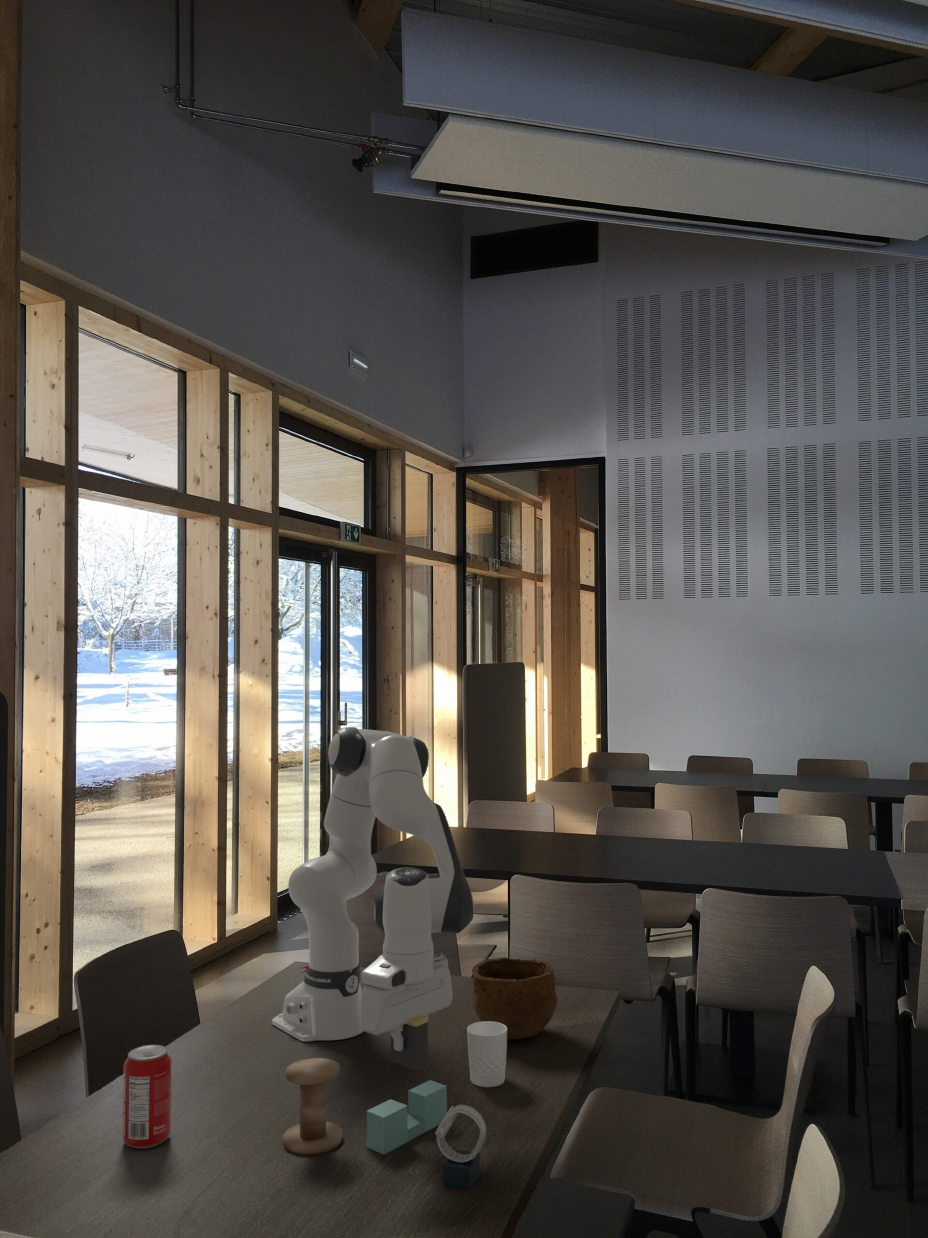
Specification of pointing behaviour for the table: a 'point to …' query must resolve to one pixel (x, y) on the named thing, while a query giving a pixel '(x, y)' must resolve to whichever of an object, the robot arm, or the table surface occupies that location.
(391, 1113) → the notch board
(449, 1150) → the watch
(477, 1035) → the white cup
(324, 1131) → the bobbin
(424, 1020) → the yellow and black block
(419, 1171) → the table surface
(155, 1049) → the soda can
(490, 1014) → the bowl
